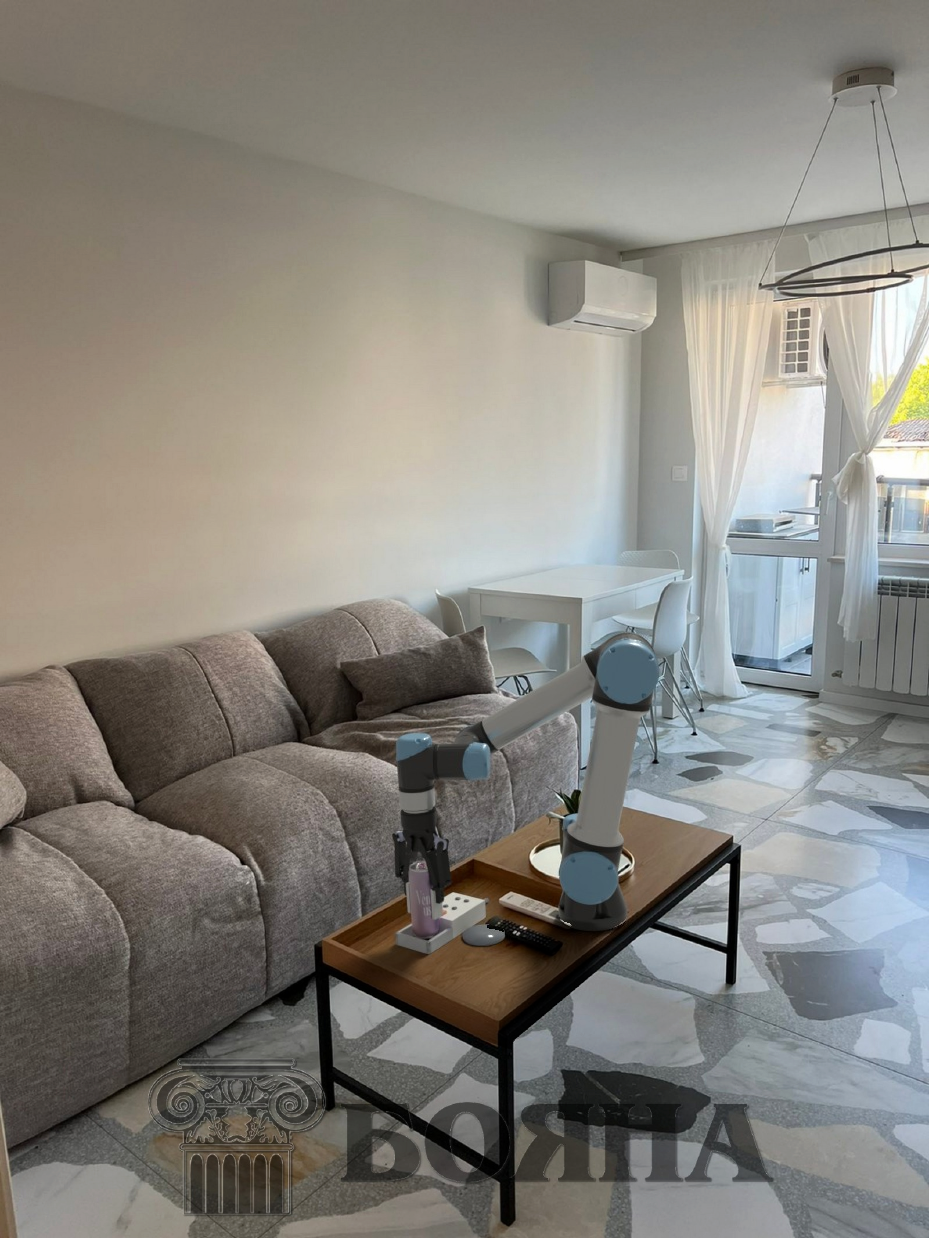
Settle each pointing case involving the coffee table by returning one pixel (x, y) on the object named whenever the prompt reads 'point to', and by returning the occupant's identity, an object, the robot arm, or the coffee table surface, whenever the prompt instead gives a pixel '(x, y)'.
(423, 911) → the beverage can
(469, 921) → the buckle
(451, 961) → the coffee table surface
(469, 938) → the coaster
